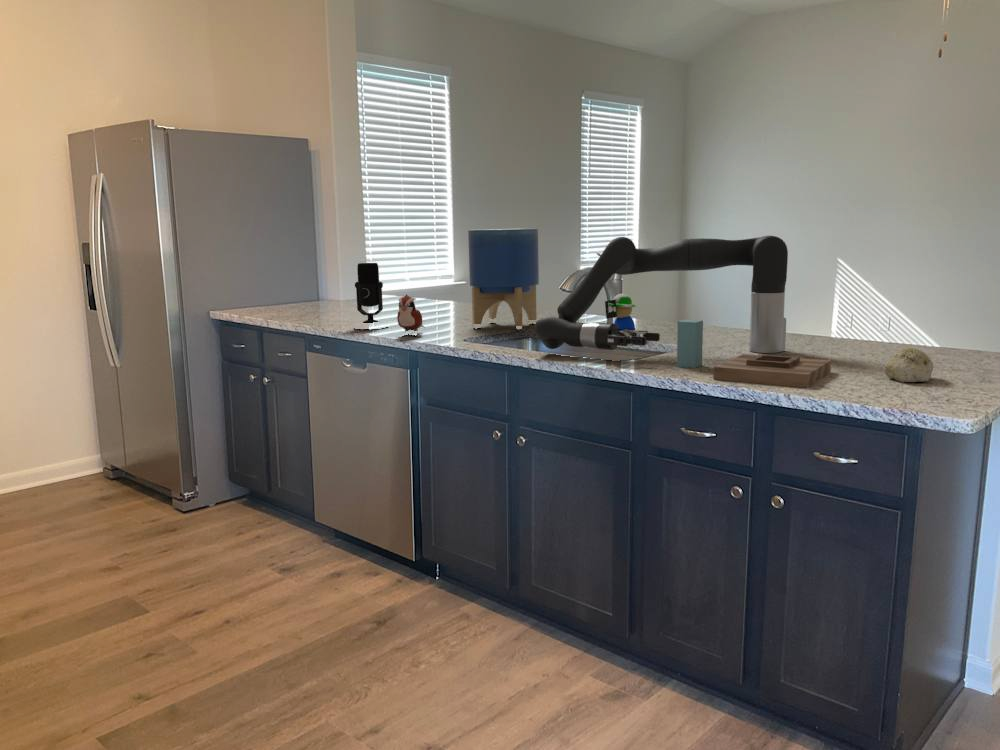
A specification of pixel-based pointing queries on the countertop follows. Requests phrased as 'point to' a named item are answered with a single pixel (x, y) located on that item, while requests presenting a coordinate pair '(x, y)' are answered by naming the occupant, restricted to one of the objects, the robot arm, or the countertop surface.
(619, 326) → the toy
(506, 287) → the planter
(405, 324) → the toy
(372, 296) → the microphone
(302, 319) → the countertop surface
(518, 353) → the countertop surface
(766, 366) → the plinth
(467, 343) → the countertop surface
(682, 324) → the pillar
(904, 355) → the decorative item
